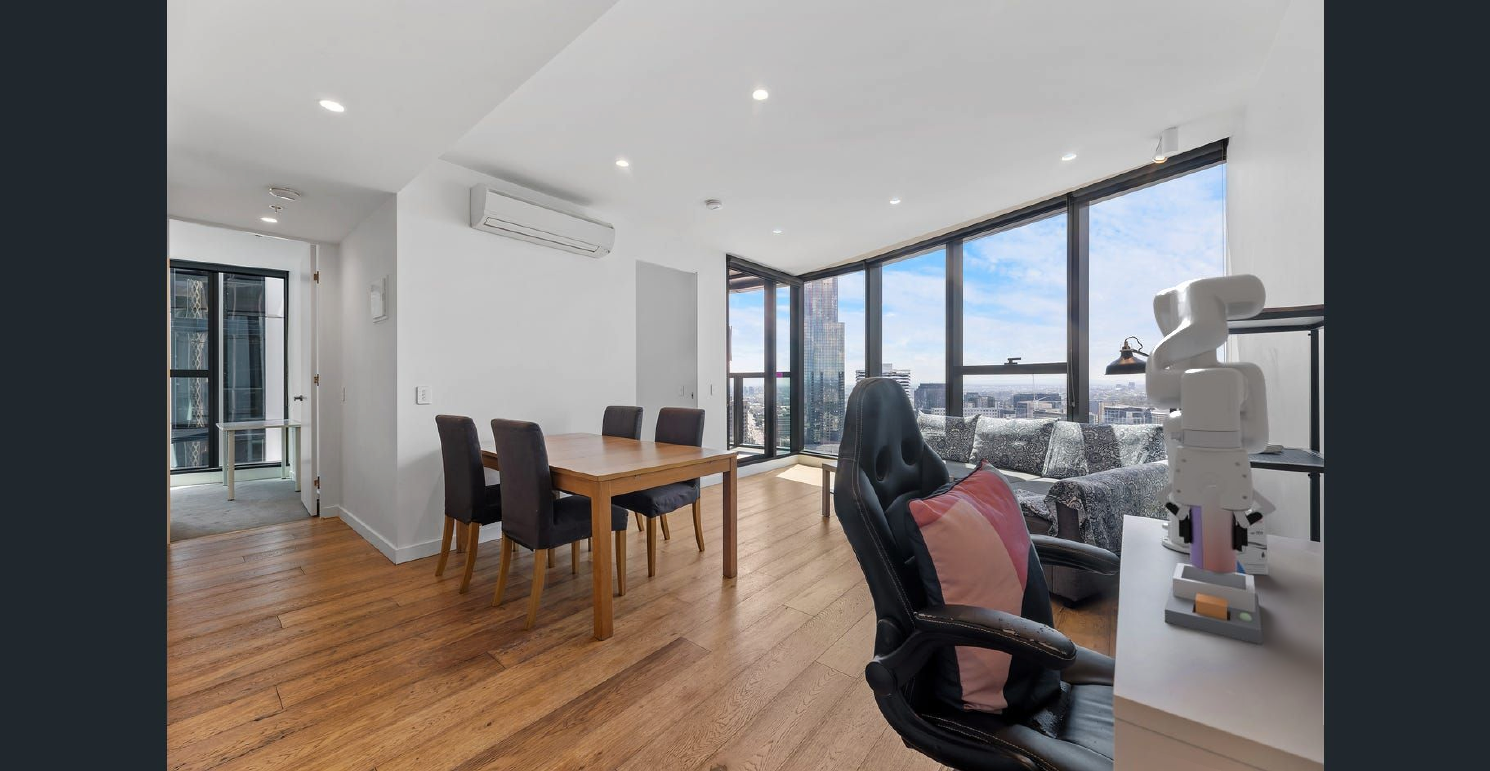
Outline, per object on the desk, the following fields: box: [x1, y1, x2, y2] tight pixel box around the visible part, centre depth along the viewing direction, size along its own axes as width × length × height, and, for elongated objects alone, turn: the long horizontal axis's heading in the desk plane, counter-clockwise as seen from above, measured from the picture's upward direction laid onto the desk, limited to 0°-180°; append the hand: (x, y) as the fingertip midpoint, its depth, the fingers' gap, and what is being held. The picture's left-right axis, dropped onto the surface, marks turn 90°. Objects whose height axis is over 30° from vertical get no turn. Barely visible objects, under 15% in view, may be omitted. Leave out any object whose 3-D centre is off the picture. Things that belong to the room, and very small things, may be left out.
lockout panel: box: [1164, 562, 1262, 645], centre depth 86 cm, size 18×11×5 cm, turn 136°
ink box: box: [1236, 510, 1269, 575], centre depth 104 cm, size 9×5×12 cm, turn 84°
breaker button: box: [1195, 593, 1227, 620], centre depth 82 cm, size 4×4×3 cm
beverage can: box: [1189, 485, 1237, 576], centre depth 88 cm, size 6×6×15 cm
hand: (1212, 544), depth 88 cm, fingers closed on beverage can, 6 cm apart
